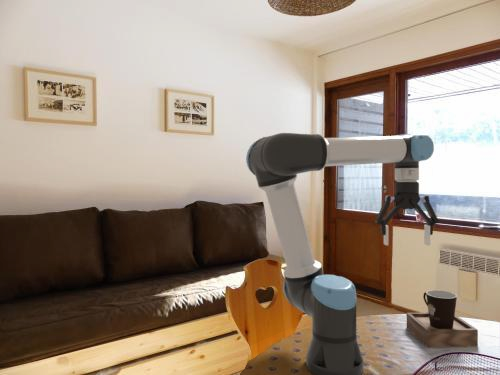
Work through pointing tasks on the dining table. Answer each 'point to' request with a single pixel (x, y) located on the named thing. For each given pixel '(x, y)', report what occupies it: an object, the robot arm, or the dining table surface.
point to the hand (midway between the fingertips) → (406, 244)
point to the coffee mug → (441, 308)
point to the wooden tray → (442, 332)
